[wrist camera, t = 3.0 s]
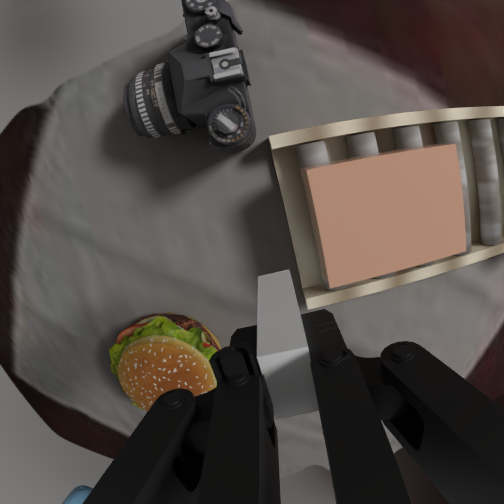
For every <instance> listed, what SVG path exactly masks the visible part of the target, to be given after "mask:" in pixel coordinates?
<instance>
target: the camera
mask: <svg viewBox="0 0 504 504" xmlns="http://www.w3.org/2000/svg"><path fill="white" fill-rule="evenodd" d="M182 6H183V12H184V13H183V17H185V22H186V27H187V32H188V35H185V37H184V39H185V41H186V42H185V43H184V44H182V45H180V46H178V47H177V48H175V49H173V50H171V51H170V53H169V54H168V60H169V63H166V62H164V63H160V64H158V65H156V67H154V68H152V69H151V70H146V71H143V72H140V73H139V74H137V76H135V77H133V78H132V79H131V80H130V82H129V83H127V84H126V86H125V88H124V105H125V110H126V114H127V117H128V119H129V122H130V124H131V126H132V128H133V129H134V131H135V132H136V133H137V134H138V135H140V136H146V137H147V138H151V137H155V138H159V137H162V136H165V135H166V134H175V135H176V134H180V133H182V134H185V131H186V130H190V129H194V128H195V127H196V124H199V125H207V130H208V134H209V139H210V142H209V144H211V147H212V148H215V149H218V150H222V151H223V150H225V151H227V152H234V151H239V150H243V149H246V148H248V147H249V146H251V145H252V143H253V142H254V140H255V137H256V127H255V122H254V118H253V113H252V108H251V103H250V98H249V93H248V89H247V86H248V85H249V86H251V84H250V79H249V75H248V70H247V66H246V62H245V58H244V54H243V51H242V50H239V48H238V44H237V40H236V35H235V31H236V32H237V33H238V34H240V35H241V34H242V32H243V30H242V28H241V26H240V25H239V23H238V22H237V20H236V17H235V13H234V10H233V8H232V6H231V5H230V4H229V3H228V2H226V1H225V0H182ZM234 30H235V31H234Z"/></svg>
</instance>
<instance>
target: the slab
mask: <svg viewBox="0 0 504 504" xmlns="http://www.w3.org/2000/svg"><path fill="white" fill-rule="evenodd" d="M301 173H302V177H303V182H304V186H305V191H306V195H307V200H308V204H309V209H310V214H311V218H312V223H313V228H314V233H315V238H316V243H317V248H318V253H319V258H320V264H321V269H322V274H323V276H324V278H325V280H326V282H327V284H328V286H329V288H334V287H338V286H342V285H346V284H350V283H354V282H358V281H362V280H366V279H370V278H373V277H377V276H381V275H385V274H388V273H392V272H396V271H399V270H403V269H407V268H410V267H414V266H417V265H421V264H424V263H428V262H431V261H435V260H438V259H442V258H445V257H448V256H452V255H455V254H458V253H462V252H465V251H466V231H465V215H464V203H463V193H462V184H461V176H460V168H459V161H458V155H457V149H456V144H434V145H427V146H420V147H413V148H407V149H401V150H395V151H389V152H383V153H377V154H371V155H366V156H360V157H355V158H350V159H345V160H339V161H334V162H329V163H325V164H320V165H315V166H310V167H305V168H301Z"/></svg>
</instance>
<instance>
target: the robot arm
mask: <svg viewBox="0 0 504 504" xmlns="http://www.w3.org/2000/svg"><path fill="white" fill-rule="evenodd" d="M209 363H210V365H211V368H212V370H213V373H214V375H215V378H216V380H217V386H216V388H214V389H213V390H210V391H208V392H206V393H203V394H200V395H197V396H194V395H193V393H192V392H191V391H189V390H188V389H183V388H179V389H173V390H170V391H167V392H165V393H164V394H162V395H160V396H159V397H158V398H157V399H156V401H155V402H154V403H153V405H152V406H151V408H150V409H149V411H148V412H147V413H146V415H145V416H144V418H143V419H142V420H141V422H140V423H139V425H138V426H137V428H136V429H135V430H134V432H133V433H132V435H131V436H130V437H129V439H128V440H127V442H126V443H125V445H124V446H123V447H122V449H121V450H120V452H119V453H118V454H117V456H116V457H115V459H114V460H113V461H112V463H111V464H110V466H109V467H108V468H107V470H106V471H105V473H104V474H103V475H102V477H101V478H100V480H99V481H98V483H97V484H96V485H95V487H94V488H91V487H88V486H78V487H76V488H75V489H73V491H72V492H71V493H70V494H69V495H68V496H67V498H66V499H65V501H64V502H63V503H62V504H281V500H280V479H279V458H278V439H277V429H276V426H275V423H274V415H275V418H276V419H279V418H284V417H290V416H295V415H300V414H305V413H310V412H314V411H319V412H320V418H321V423H322V429H323V435H324V439H325V444H326V449H327V455H328V460H329V465H330V471H331V476H332V482H333V488H334V493H335V499H336V504H411V501H410V498H409V495H408V492H407V490H406V487H405V484H404V481H403V478H402V476H401V473H400V470H399V467H398V464H397V462H396V459H395V456H394V453H393V451H392V448H391V445H390V443H389V440H388V438H387V435H386V432H385V430H384V427H383V425H382V422H381V420H382V421H383V423H384V425H385V426H386V427H387V428H388V429H389V431H390V432H391V433H392V434H393V436H394V437H395V438H396V439H397V440H398V442H399V443H400V444H401V445H402V446H403V448H404V449H405V450H406V451H407V452H408V454H409V455H410V456H411V457H412V458H413V460H414V461H415V462H416V463H417V464H418V466H419V467H420V468H421V469H422V470H423V472H424V473H425V474H426V475H427V476H428V477H429V479H430V480H431V481H432V482H433V484H434V485H435V486H436V487H437V488H438V490H439V491H440V492H441V493H442V494H443V496H444V497H445V498H446V499H447V500H448V502H449V503H450V504H504V409H502V408H501V407H500V406H498V405H497V404H496V403H495V402H493V401H492V400H491V399H490V398H488V397H487V396H486V395H484V394H483V393H482V392H481V391H479V390H478V389H477V388H475V387H474V386H473V385H472V384H470V383H469V382H468V381H466V380H465V379H464V378H462V377H461V376H460V375H458V374H457V373H456V372H455V371H453V370H452V369H451V368H449V367H448V366H447V365H445V364H444V363H443V362H441V361H440V360H439V359H437V358H436V357H435V356H433V355H432V354H431V353H430V352H428V351H427V350H426V349H424V348H423V347H422V346H420V345H418V344H416V343H414V342H408V341H403V342H396V343H393V344H390V345H389V346H387V347H386V348H384V350H383V351H382V353H381V357H376V358H363V357H358V356H355V355H354V354H353V353H352V351H351V350H350V349H347V347H346V344H345V342H344V340H343V337H342V335H341V333H340V330H339V328H338V325H337V323H336V321H335V318H334V316H333V314H332V313H330V312H329V311H327V310H326V309H323V310H318V311H314V312H310V313H306V314H301V315H300V311H299V307H298V302H297V298H296V294H295V290H294V286H293V282H292V278H291V274H290V270H289V269H288V270H284V271H279V272H275V273H271V274H266V275H262V276H258V314H257V325H255V326H250V327H245V328H240V329H237V330H236V331H235V333H234V334H233V335H232V336H231V341H230V346H228V347H224V348H222V349H220V350H218V351H217V352H216V353H214V354H213V355H212V356H211V358H210V360H209Z"/></svg>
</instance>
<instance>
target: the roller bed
mask: <svg viewBox="0 0 504 504" xmlns="http://www.w3.org/2000/svg"><path fill="white" fill-rule="evenodd" d="M268 141H269V145H270V149H271V153H272V157H273V161H274V165H275V169H276V173H277V178H278V182H279V186H280V190H281V194H282V199H283V203H284V207H285V212H286V216H287V220H288V225H289V229H290V234H291V238H292V243H293V247H294V252H295V256H296V261H297V266H298V270H299V275H300V280H301V285H302V290H303V294H304V298H305V302H306V305H307V308H308V309H313V308H317V307H321V306H325V305H329V304H333V303H337V302H341V301H345V300H349V299H353V298H357V297H361V296H364V295H368V294H372V293H376V292H379V291H383V290H387V289H390V288H394V287H397V286H401V285H404V284H408V283H411V282H415V281H418V280H421V279H425V278H428V277H431V276H435V275H438V274H441V273H444V272H448V271H451V270H454V269H457V268H460V267H463V266H466V265H469V264H472V263H475V262H478V261H481V260H484V259H487V258H490V257H493V256H496V255H499V254H501V253H504V106H490V107H466V108H450V109H438V110H426V111H416V112H407V113H398V114H390V115H383V116H375V117H368V118H361V119H355V120H349V121H343V122H337V123H331V124H326V125H320V126H315V127H310V128H305V129H300V130H295V131H290V132H285V133H281V134H276V135H272V136H269V137H268ZM434 144H456V149H457V155H458V161H459V168H460V176H461V184H462V193H463V203H464V215H465V231H466V251H465V252H462V253H458V254H455V255H452V256H448V257H445V258H442V259H438V260H435V261H431V262H428V263H424V264H421V265H417V266H414V267H410V268H407V269H403V270H399V271H396V272H392V273H388V274H385V275H381V276H377V277H373V278H370V279H366V280H362V281H358V282H354V283H350V284H346V285H342V286H338V287H334V288H329V286H328V284H327V282H326V280H325V278H324V276H323V274H322V269H321V264H320V258H319V253H318V248H317V243H316V238H315V233H314V228H313V223H312V218H311V214H310V209H309V204H308V200H307V195H306V191H305V186H304V182H303V177H302V173H301V168H305V167H310V166H315V165H320V164H325V163H329V162H334V161H339V160H345V159H350V158H355V157H360V156H366V155H371V154H377V153H383V152H389V151H395V150H401V149H407V148H413V147H420V146H427V145H434Z"/></svg>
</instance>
